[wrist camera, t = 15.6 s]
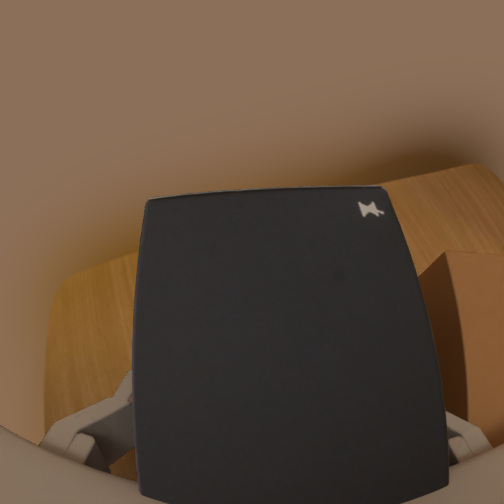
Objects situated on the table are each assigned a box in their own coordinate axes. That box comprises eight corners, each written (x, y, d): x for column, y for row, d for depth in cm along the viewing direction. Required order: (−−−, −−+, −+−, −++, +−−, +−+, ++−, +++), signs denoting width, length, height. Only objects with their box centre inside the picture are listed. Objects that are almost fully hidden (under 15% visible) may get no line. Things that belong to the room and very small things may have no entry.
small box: (195, 319, 16) (134, 185, 7) (314, 310, 16) (391, 176, 7) (208, 506, 11) (154, 624, 1) (335, 493, 11) (454, 571, 2)
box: (359, 487, 13) (455, 531, 4) (360, 326, 18) (444, 249, 10) (425, 471, 13) (534, 483, 4) (421, 324, 18) (516, 256, 10)
